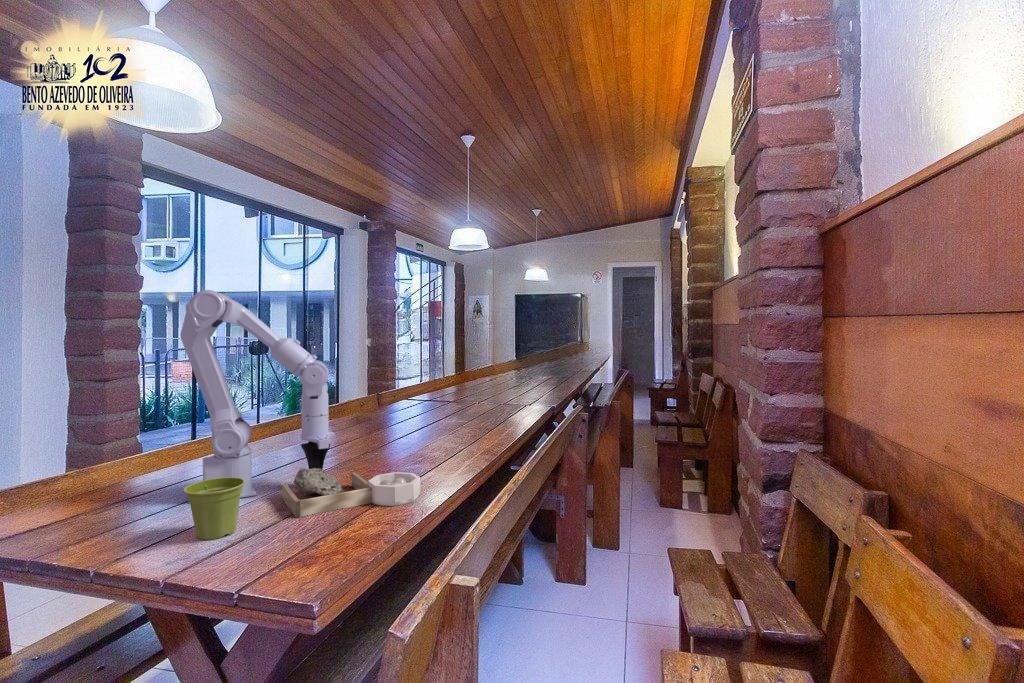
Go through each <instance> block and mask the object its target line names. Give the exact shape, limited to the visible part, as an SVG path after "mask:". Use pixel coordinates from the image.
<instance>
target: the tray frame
mask: <svg viewBox="0 0 1024 683" xmlns="http://www.w3.org/2000/svg"><path fill="white" fill-rule="evenodd" d="M352 486H353V487H352ZM351 487H352V488H354V489H355V490H354V489H353V490H350V491H343V492H339V493H337V494H331V495H321V496H317V497H310V498H305V499H299V498H298V497H297V495H296V494H295V493H294V492H293V491H292V489H291V488H290V487H289V485H288V484H287V483H282V484H281V499H282V500H283V502H284V501H285V502H284V503H285V504H287V505H286V506H287V508H290V509H289V510H290V512H291V511H292V512H291V513H292V515H293V516H294V517H295V518H296V519H297V518H302V516H303V517H307V515H308V516H313V515H318V514H323V513H326V512H327V513H328V512H332V510H333V511H338V510H342V508H343V509H347V508H348V509H349V508H352V507H353V508H354V507H359V506H363V505H367V504H373V503H372V488H371V487H370V486H368V480H366V479H365V478H364V477H362V476H361V475H360V474H358V473H357V472H356V471H355V472H351ZM337 509H338V510H337ZM317 513H318V514H317ZM312 514H313V515H312Z"/></svg>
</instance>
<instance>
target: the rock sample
mask: <svg viewBox="0 0 1024 683" xmlns="http://www.w3.org/2000/svg"><path fill="white" fill-rule="evenodd" d="M292 485H294V486H295V488H296V490H298V491H300V492H301V491H303V492H304V493H305V495H308V496H309V495H314V494H318V495H321V496H326V495H331V494H337V493H341V491H343V486H342V485H341V484H340V481H339V480H338V479H337V478H336V477H334V476H332V475H330V474H328V473H326V471H325V469H316V468H313V469H309V468H308V469H306V467H305V466H304V468H303V467H301V468H299V470H298V471H297V473H296V474H295V476H294V478H293V479H292Z"/></svg>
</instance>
